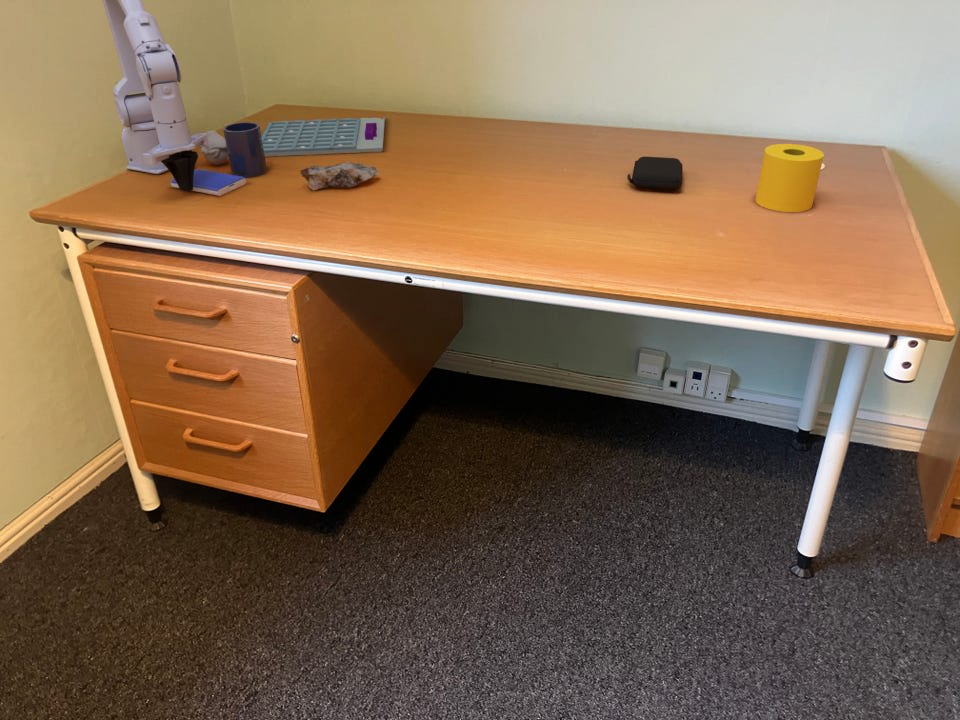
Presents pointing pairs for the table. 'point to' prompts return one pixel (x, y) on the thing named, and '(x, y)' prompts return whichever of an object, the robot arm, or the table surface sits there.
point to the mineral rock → (338, 175)
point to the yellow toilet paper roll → (789, 177)
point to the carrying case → (657, 174)
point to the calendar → (323, 136)
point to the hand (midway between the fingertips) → (186, 190)
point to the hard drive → (213, 182)
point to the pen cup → (245, 149)
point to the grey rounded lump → (215, 148)
